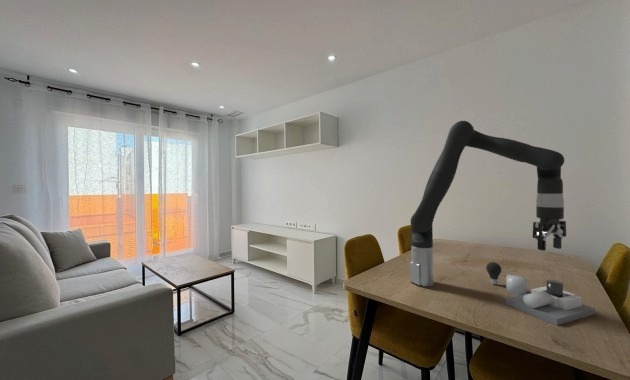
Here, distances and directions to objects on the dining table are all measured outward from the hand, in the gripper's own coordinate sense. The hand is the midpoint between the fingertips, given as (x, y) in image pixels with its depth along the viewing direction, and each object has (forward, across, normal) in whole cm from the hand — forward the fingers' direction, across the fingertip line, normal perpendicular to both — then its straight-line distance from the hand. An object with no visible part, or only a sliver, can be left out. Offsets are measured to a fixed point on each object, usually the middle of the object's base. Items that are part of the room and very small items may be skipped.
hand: (549, 249), depth 95 cm
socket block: (+21, -4, -2) cm, 21 cm away
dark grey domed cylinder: (+19, -1, -2) cm, 19 cm away
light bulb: (+21, -1, +21) cm, 30 cm away
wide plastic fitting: (+21, 0, +12) cm, 24 cm away
